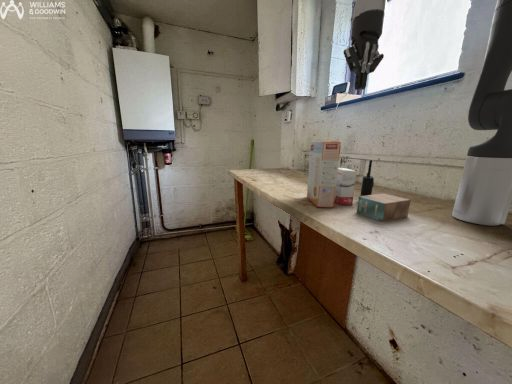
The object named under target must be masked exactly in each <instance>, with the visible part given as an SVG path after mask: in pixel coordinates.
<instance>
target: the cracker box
mask: <svg viewBox="0 0 512 384" xmlns="http://www.w3.org/2000/svg"><path fill="white" fill-rule="evenodd" d="M341 144H342V142H341V141H336V140H335V141H334V140H333V141H329V140H328V141H321V140H320V141H311V142H310V152H309V163H308V165H309V166H308V179H307V189H306V198H307V199H308V200H309V201H310V202H312V204H314V206H315V207H317V208H332V209H333V208H334V206H335V201H334V200H335V191H336V182H337V173H338V168H339V165H340V163H339V162H340V157H341V154H340V153H341Z"/></svg>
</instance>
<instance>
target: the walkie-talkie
mask: <svg viewBox="0 0 512 384" xmlns="http://www.w3.org/2000/svg"><path fill="white" fill-rule="evenodd" d="M368 161H369V162H368V169H367V173H366V175H363V176H362V180H361V189H360V194H359V196H366V195H373V188H374V182H375V181H374V180H375V178H374V177H373V176H371V172H372V164H373V159H372V160H371V159H369V160H368Z"/></svg>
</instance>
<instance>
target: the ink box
mask: <svg viewBox="0 0 512 384" xmlns="http://www.w3.org/2000/svg"><path fill="white" fill-rule="evenodd" d="M356 177H357V170H353V169H350V168H347V167H346V168H343V167H338V173H337V182H336V191H335V200H334V203H336V204H338V205H350V206H351V205H353V203H354V202H353V201H354V194H355V186H356V185H355V184H356Z"/></svg>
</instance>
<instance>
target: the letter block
mask: <svg viewBox="0 0 512 384" xmlns="http://www.w3.org/2000/svg"><path fill="white" fill-rule="evenodd" d="M357 199H358V200H357V201H358V202H357V208H356V213H357V214H360V215H363V216H366V217H368V218H372V219H374V220H377V221H379V222H385V221H390V220H396V219H400V218H407V217H408V215H409V210H410V206H411V200H412V199H411V198H410V199H409V198H405V197H401V196H396V195H393V194H388V193H375V194H374V193H373V194H371V195H366V196H360V195H359V196H358V198H357Z"/></svg>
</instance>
